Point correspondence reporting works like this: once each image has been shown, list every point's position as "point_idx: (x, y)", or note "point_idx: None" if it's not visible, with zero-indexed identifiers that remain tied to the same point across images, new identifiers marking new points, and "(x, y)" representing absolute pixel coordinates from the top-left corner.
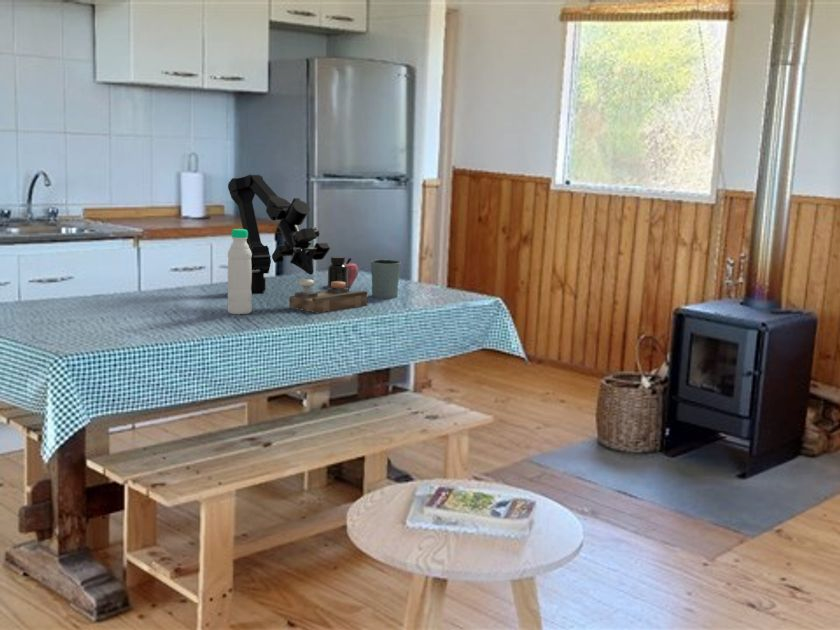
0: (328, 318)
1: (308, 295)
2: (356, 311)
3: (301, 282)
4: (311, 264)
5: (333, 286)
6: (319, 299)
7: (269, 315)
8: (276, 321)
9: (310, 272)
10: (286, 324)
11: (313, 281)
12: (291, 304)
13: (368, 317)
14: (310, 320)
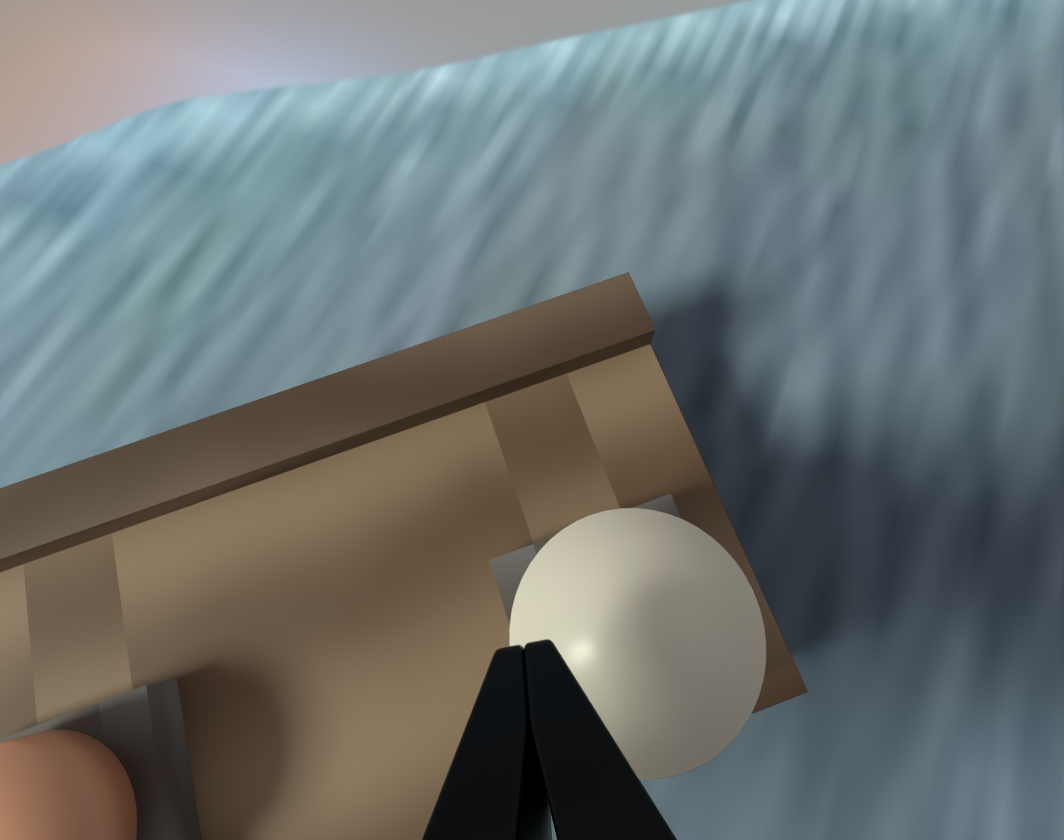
0: (606, 149)
1: None
2: (278, 320)
3: (739, 578)
4: (462, 836)
5: (125, 805)
6: (594, 289)
7: (1033, 373)
8: (1015, 152)
9: (556, 659)
10: (962, 53)
11: (541, 550)
12: None
13: (329, 109)
14: (757, 122)
